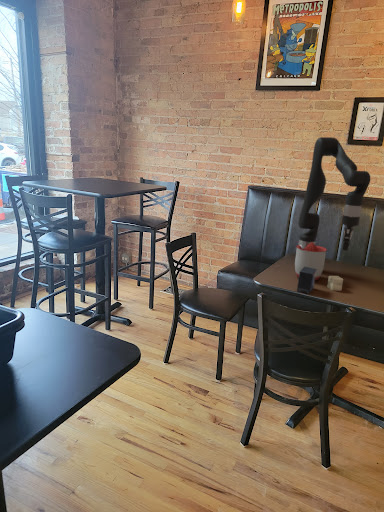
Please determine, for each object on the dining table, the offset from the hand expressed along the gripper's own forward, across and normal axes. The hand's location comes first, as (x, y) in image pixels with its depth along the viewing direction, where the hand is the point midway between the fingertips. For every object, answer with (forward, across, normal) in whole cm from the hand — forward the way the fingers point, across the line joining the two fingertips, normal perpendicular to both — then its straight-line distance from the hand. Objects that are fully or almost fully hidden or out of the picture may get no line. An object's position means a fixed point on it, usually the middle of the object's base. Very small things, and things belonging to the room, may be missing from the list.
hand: (345, 248), depth 171 cm
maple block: (+22, -3, -2) cm, 23 cm away
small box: (+22, +7, -15) cm, 28 cm away
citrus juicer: (+23, -14, -18) cm, 32 cm away
